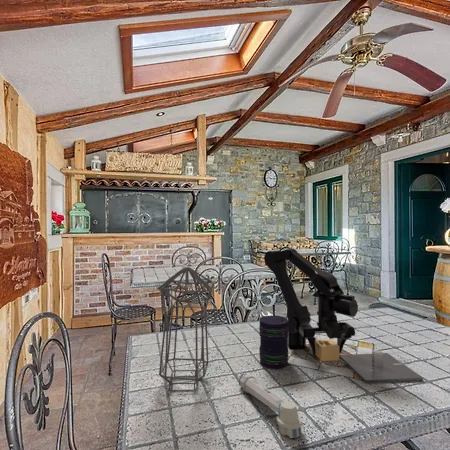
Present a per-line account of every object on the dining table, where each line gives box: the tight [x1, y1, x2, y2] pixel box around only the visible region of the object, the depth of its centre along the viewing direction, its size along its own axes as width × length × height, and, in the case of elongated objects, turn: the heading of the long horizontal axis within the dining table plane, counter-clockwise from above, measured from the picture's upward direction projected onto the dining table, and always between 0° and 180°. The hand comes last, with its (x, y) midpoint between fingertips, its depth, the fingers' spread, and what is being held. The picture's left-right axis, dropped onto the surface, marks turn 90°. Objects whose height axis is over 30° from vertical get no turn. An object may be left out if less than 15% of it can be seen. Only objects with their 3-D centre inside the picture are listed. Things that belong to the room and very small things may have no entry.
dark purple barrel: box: [258, 315, 289, 371], centre depth 106 cm, size 10×10×15 cm
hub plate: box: [339, 350, 424, 384], centre depth 102 cm, size 18×18×6 cm
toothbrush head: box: [238, 373, 303, 439], centre depth 80 cm, size 5×7×25 cm
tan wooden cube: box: [315, 339, 340, 362], centre depth 111 cm, size 6×6×6 cm
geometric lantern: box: [156, 266, 214, 392], centre depth 93 cm, size 16×16×35 cm
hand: (326, 354), depth 111 cm, fingers open, 9 cm apart
